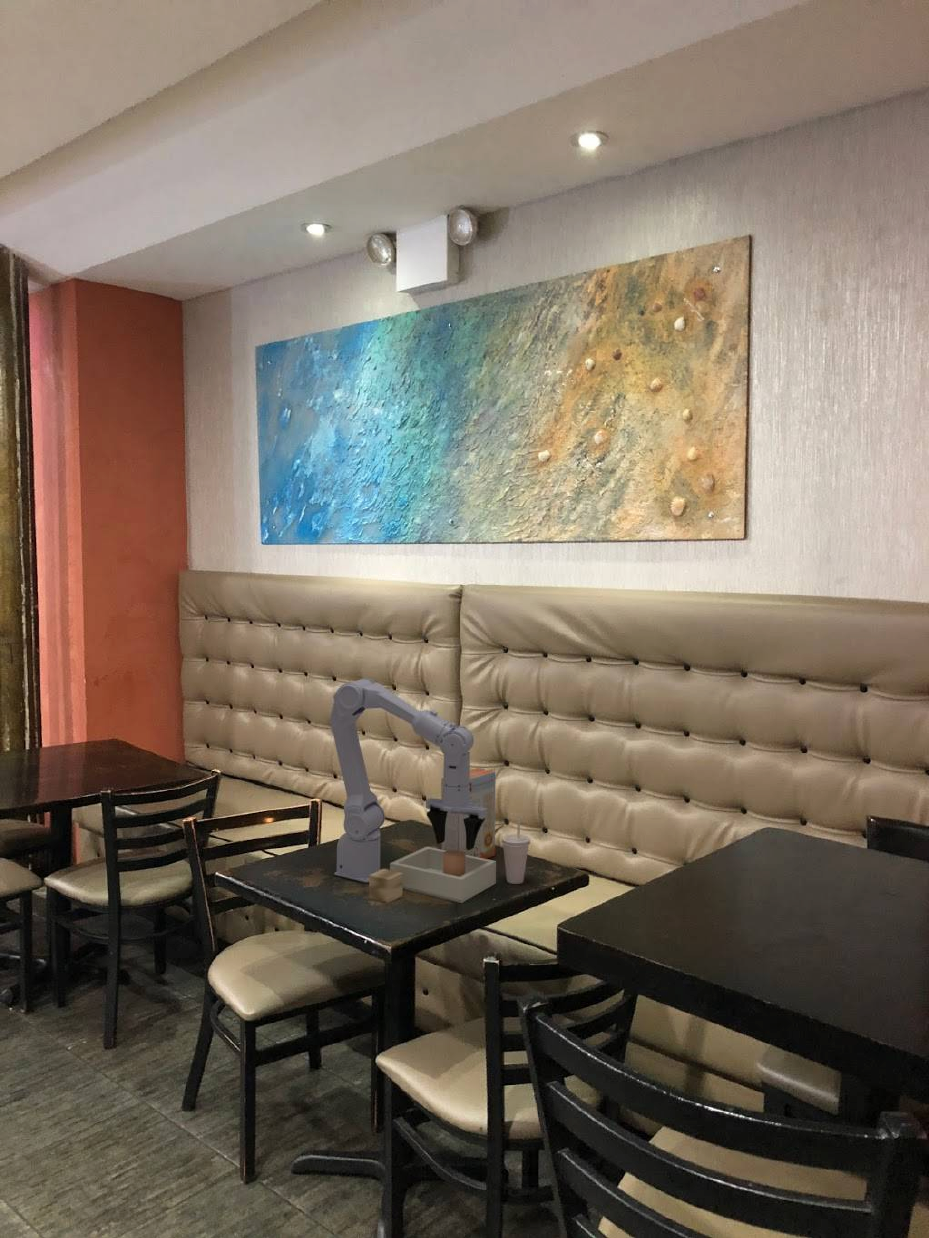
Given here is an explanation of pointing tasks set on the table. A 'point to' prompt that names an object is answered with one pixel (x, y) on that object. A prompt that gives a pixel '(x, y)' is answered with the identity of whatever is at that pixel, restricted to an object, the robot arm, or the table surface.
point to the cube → (385, 885)
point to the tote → (444, 875)
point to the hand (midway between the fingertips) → (455, 845)
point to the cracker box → (455, 828)
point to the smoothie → (515, 855)
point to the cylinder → (454, 862)
